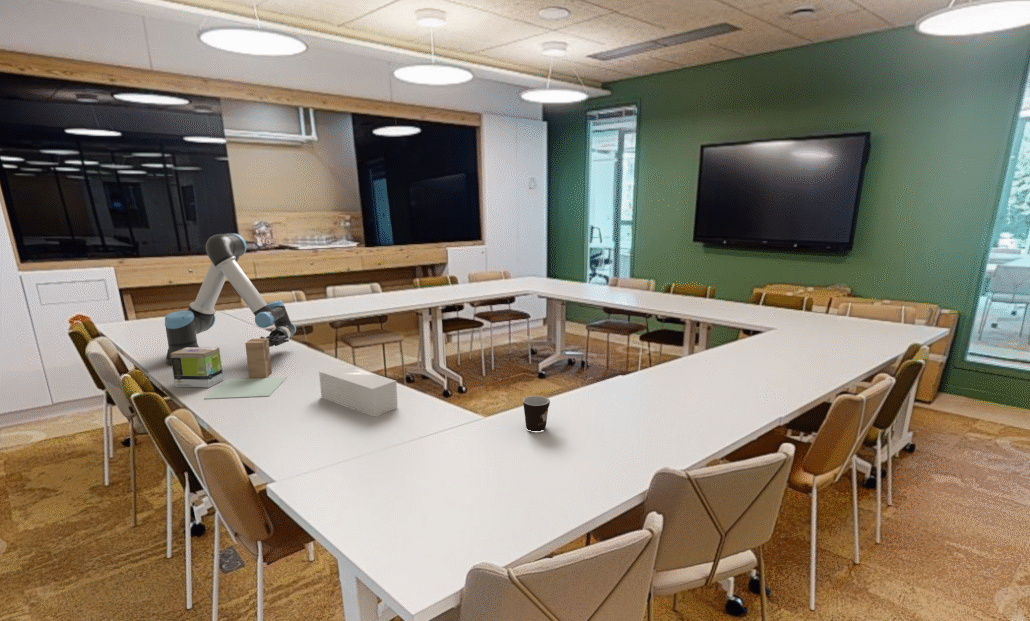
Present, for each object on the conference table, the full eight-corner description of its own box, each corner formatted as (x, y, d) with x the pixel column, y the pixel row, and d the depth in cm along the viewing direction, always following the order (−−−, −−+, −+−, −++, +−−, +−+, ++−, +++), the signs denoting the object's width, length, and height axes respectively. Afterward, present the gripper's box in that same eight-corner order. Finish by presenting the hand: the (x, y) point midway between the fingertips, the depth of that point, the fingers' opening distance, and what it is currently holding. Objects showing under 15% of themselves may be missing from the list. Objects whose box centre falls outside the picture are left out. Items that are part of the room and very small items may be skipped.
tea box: (224, 380, 221) (220, 346, 218) (208, 388, 212) (203, 353, 209) (191, 379, 223) (186, 346, 220) (174, 387, 213) (169, 352, 210)
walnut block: (255, 373, 230) (251, 338, 227) (272, 373, 231) (268, 338, 227) (249, 379, 223) (245, 343, 220) (266, 378, 224) (262, 342, 220)
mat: (227, 380, 221) (227, 379, 221) (286, 377, 224) (286, 377, 224) (204, 399, 200) (204, 398, 200) (269, 396, 203) (269, 395, 203)
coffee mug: (530, 436, 167) (531, 407, 165) (518, 426, 175) (518, 398, 173) (561, 429, 173) (561, 401, 171) (548, 420, 180) (548, 392, 178)
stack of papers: (397, 408, 191) (396, 380, 189) (374, 417, 183) (372, 388, 181) (344, 390, 210) (342, 364, 208) (321, 398, 202) (319, 371, 199)
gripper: (294, 342, 253) (278, 355, 230) (266, 343, 251) (247, 356, 228) (293, 327, 252) (277, 338, 229) (264, 328, 250) (246, 339, 227)
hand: (262, 347), depth 228 cm, fingers closed
